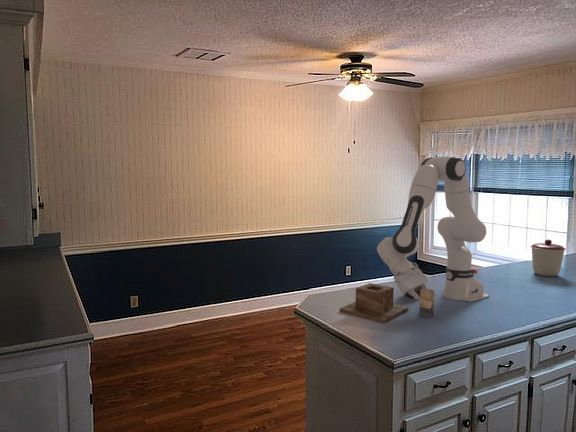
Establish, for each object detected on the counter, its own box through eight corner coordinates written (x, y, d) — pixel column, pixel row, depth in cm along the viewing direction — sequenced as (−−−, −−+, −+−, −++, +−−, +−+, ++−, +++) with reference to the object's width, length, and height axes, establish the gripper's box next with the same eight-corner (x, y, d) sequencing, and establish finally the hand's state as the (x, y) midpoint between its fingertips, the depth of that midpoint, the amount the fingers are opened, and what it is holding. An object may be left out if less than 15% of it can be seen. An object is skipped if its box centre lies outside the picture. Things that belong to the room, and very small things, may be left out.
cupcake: (422, 299, 222) (423, 279, 221) (401, 297, 226) (402, 277, 224) (423, 294, 231) (424, 274, 230) (403, 292, 235) (404, 273, 233)
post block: (365, 300, 220) (365, 279, 219) (408, 310, 206) (409, 287, 205) (339, 311, 203) (339, 288, 202) (384, 323, 189) (385, 298, 188)
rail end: (423, 312, 203) (424, 288, 202) (433, 315, 200) (434, 290, 199) (419, 315, 199) (420, 290, 198) (429, 317, 197) (430, 292, 195)
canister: (564, 273, 277) (566, 238, 275) (563, 280, 262) (566, 243, 259) (530, 269, 287) (532, 236, 284) (527, 275, 271) (529, 240, 269)
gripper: (396, 270, 195) (417, 297, 190) (417, 262, 211) (437, 287, 206) (387, 278, 199) (407, 305, 194) (408, 270, 214) (427, 295, 209)
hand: (423, 296), depth 200 cm, fingers open, 8 cm apart
